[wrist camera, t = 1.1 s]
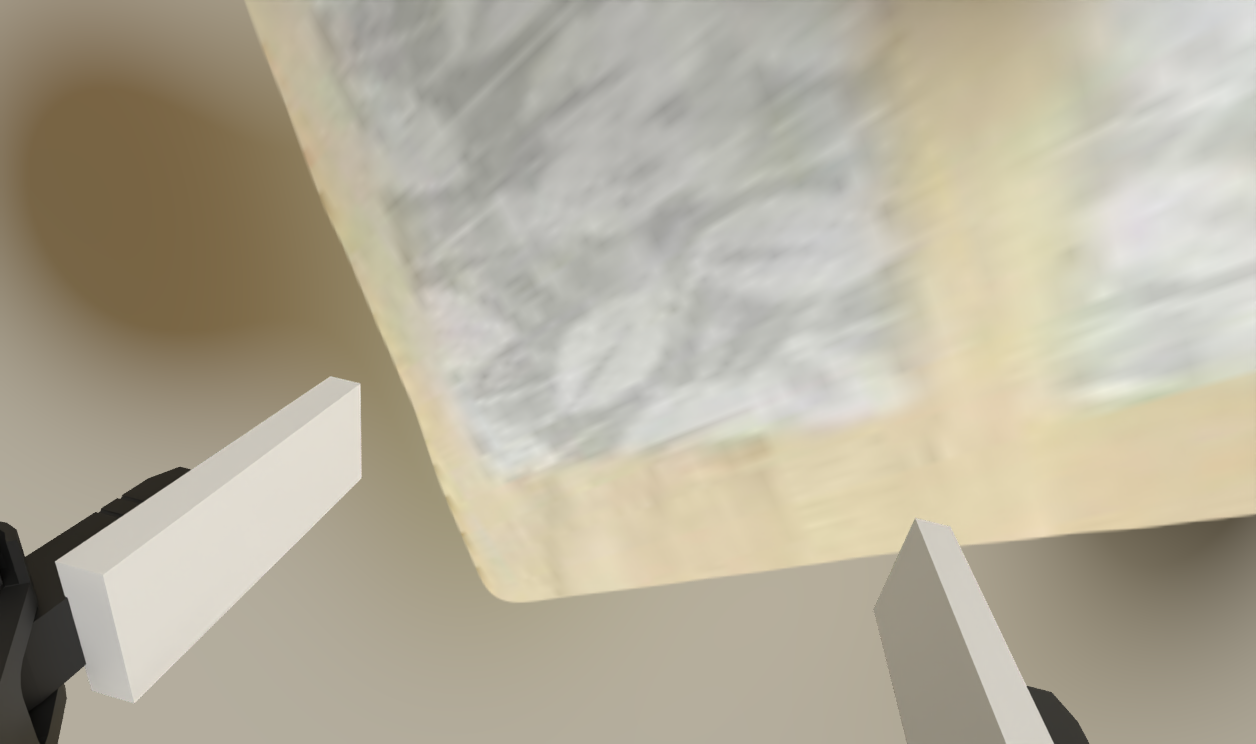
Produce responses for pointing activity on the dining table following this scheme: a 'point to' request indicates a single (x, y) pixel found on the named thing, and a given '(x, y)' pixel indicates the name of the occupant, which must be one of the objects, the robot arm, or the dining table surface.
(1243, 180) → the dining table surface
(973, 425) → the dining table surface
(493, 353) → the dining table surface
